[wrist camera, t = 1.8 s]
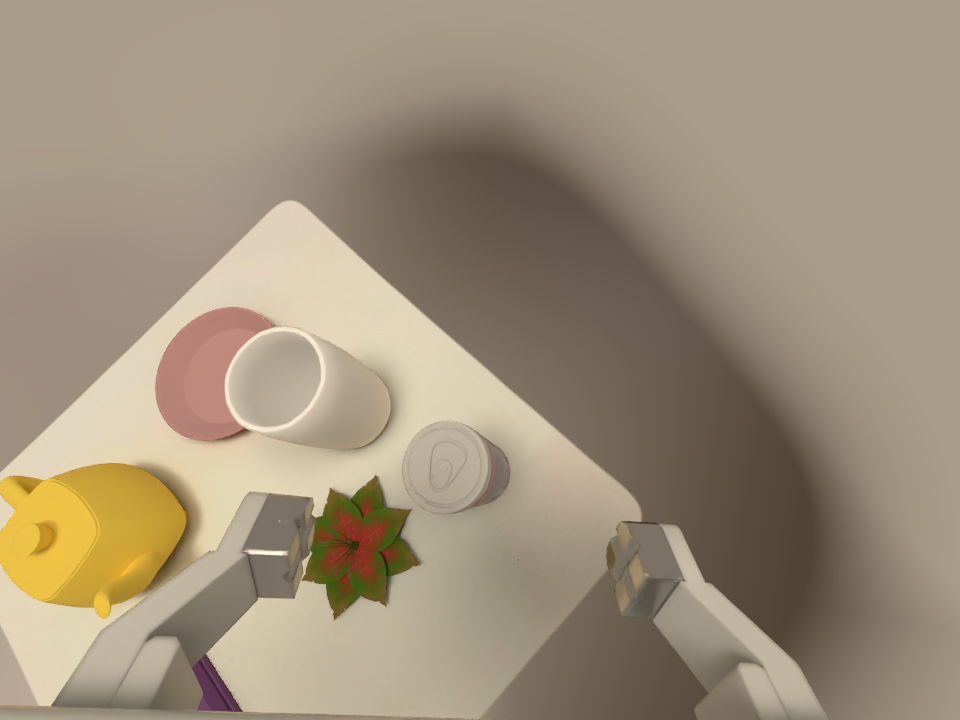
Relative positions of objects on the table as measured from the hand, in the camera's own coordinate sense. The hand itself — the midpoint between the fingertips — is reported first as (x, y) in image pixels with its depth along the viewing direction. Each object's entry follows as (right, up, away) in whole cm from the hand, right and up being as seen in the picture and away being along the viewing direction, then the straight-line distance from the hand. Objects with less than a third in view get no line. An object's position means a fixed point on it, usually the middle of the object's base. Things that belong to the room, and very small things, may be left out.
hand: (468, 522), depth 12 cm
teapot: (-33, -13, +32) cm, 48 cm away
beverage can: (0, -6, +29) cm, 30 cm away
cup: (-12, -1, +33) cm, 35 cm away
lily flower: (-11, -13, +29) cm, 33 cm away
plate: (-27, +3, +36) cm, 45 cm away
